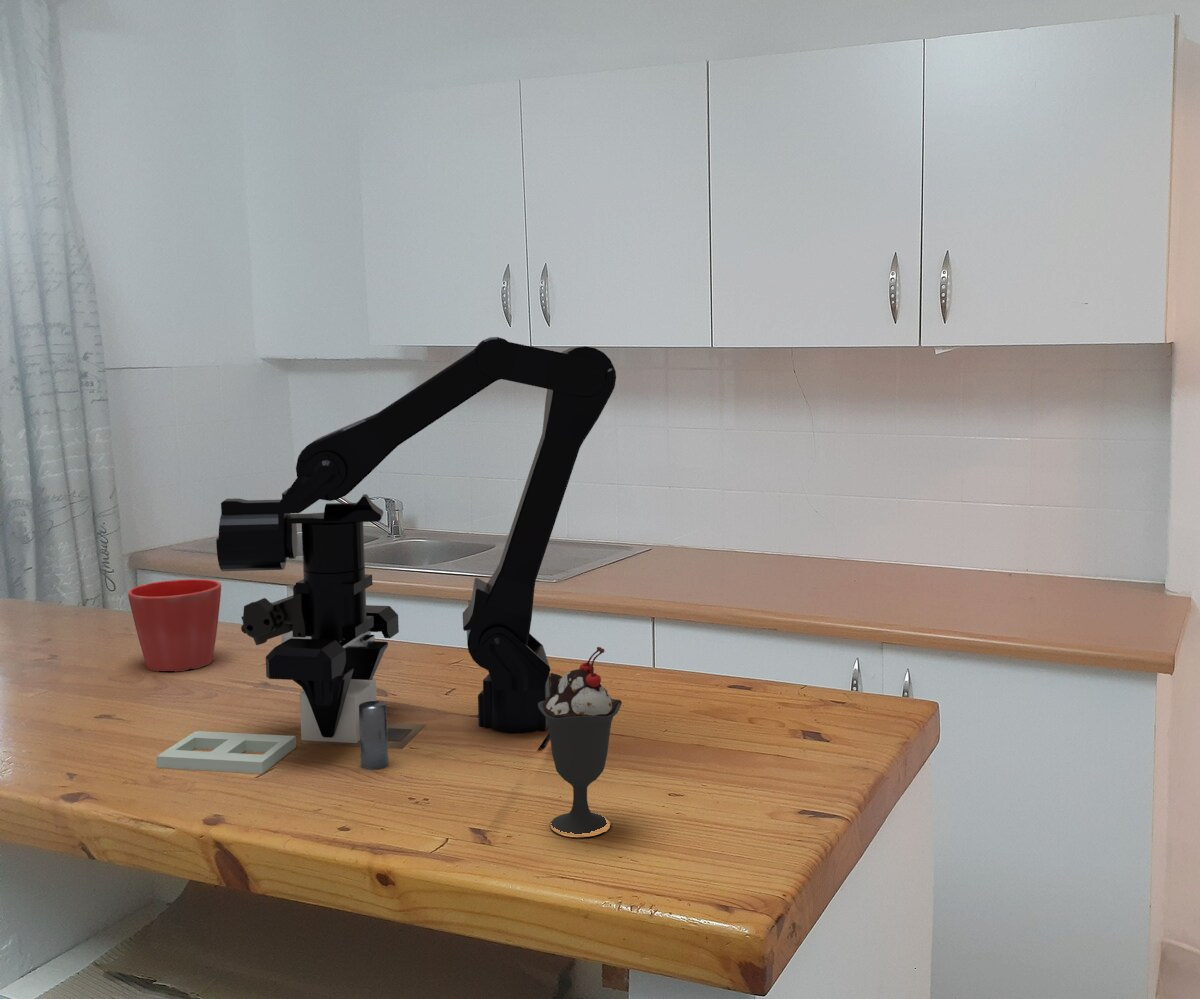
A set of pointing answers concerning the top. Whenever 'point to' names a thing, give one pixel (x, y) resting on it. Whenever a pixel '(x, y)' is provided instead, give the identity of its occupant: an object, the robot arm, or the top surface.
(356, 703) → the white rectangular block
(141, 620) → the flower pot
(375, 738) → the peg
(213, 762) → the board
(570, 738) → the sundae
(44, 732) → the top surface
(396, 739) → the board
